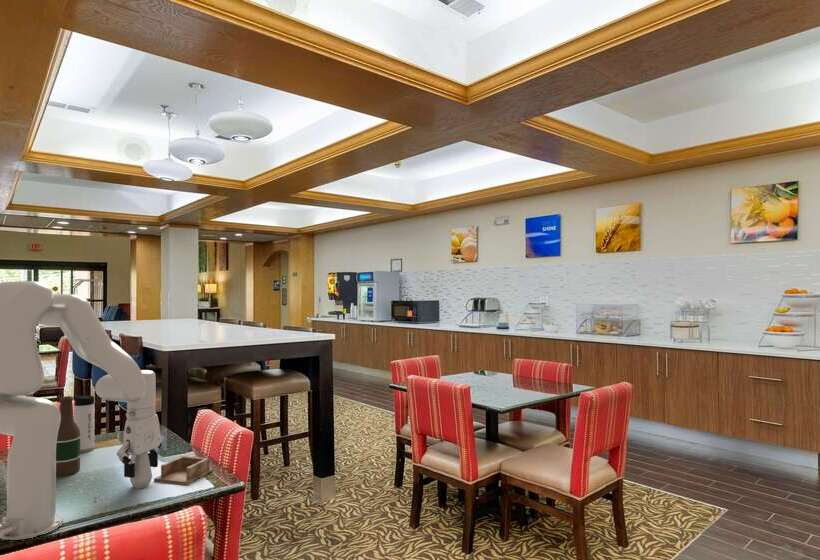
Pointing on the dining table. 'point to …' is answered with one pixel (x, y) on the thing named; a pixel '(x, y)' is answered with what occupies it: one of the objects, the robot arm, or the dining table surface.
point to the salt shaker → (141, 471)
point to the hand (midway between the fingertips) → (141, 471)
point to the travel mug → (85, 420)
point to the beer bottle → (67, 441)
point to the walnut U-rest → (184, 470)
